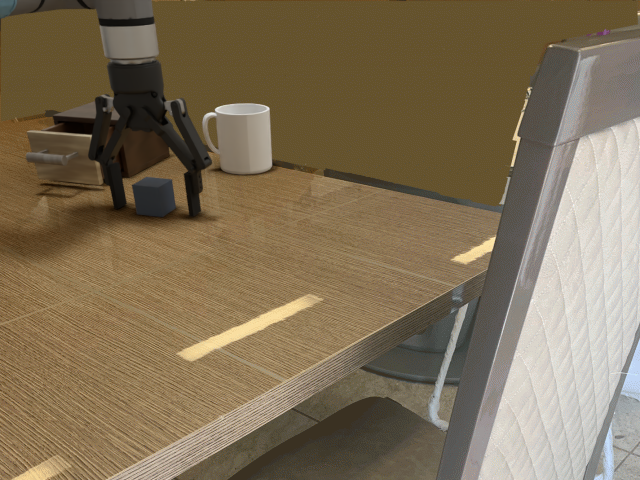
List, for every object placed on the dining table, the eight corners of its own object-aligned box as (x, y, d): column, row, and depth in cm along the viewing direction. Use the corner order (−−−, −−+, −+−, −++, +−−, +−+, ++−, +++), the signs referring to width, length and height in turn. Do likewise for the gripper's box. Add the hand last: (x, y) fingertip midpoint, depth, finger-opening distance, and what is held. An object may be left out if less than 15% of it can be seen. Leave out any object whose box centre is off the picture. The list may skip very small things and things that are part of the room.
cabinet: (129, 177, 119) (118, 120, 113) (65, 171, 122) (52, 115, 116) (170, 155, 131) (162, 102, 125) (110, 150, 134) (101, 99, 128)
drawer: (83, 193, 108) (72, 143, 103) (20, 187, 111) (6, 138, 106) (142, 163, 123) (135, 118, 118) (85, 158, 126) (76, 114, 121)
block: (136, 214, 102) (131, 184, 100) (151, 205, 106) (146, 176, 103) (162, 217, 101) (157, 187, 99) (176, 208, 105) (172, 179, 102)
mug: (267, 158, 128) (264, 102, 122) (276, 172, 121) (274, 113, 115) (204, 163, 126) (198, 105, 120) (210, 177, 118) (203, 117, 112)
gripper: (224, 58, 90) (237, 209, 103) (73, 53, 97) (103, 196, 109) (201, 66, 85) (217, 225, 98) (42, 60, 91) (77, 210, 104)
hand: (157, 210), depth 103 cm, fingers open, 13 cm apart
